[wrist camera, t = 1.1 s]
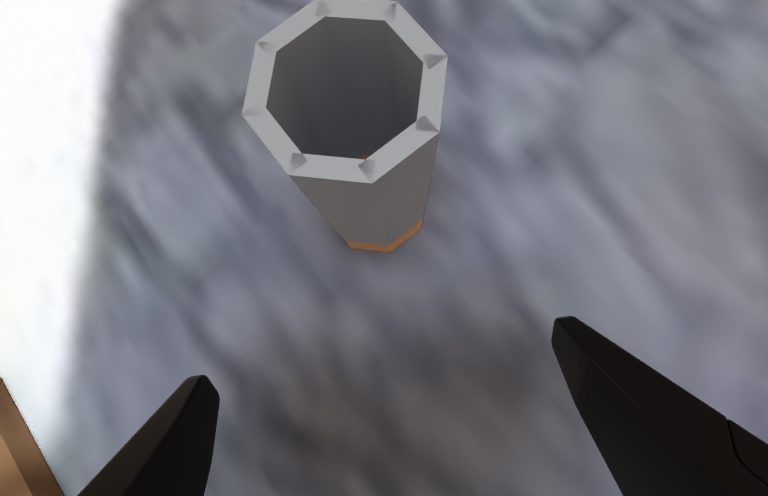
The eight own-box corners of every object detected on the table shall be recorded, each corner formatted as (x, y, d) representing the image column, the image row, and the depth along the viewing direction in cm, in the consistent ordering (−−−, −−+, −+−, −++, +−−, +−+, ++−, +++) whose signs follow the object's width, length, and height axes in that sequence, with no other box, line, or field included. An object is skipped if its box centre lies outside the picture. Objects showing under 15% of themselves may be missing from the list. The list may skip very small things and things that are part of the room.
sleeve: (442, 211, 24) (485, 96, 11) (368, 269, 23) (323, 221, 11) (384, 143, 25) (363, -36, 12) (312, 198, 24) (210, 74, 12)
